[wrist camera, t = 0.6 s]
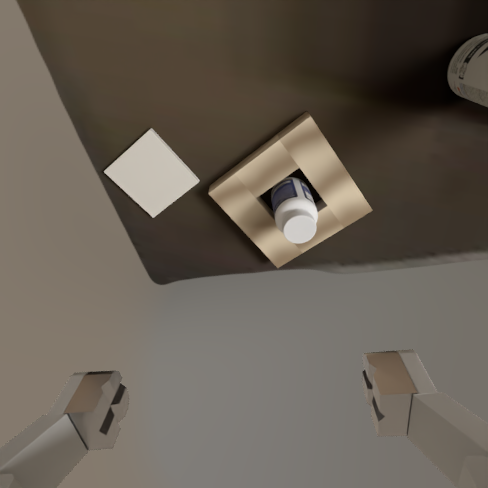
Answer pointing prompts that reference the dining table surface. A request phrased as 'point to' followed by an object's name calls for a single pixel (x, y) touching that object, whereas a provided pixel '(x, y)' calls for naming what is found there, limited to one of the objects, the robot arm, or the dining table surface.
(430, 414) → the robot arm
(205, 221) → the dining table surface
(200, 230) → the dining table surface
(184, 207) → the dining table surface
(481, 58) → the spray can
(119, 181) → the pad
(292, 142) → the socket block
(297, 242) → the pill bottle
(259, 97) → the dining table surface
